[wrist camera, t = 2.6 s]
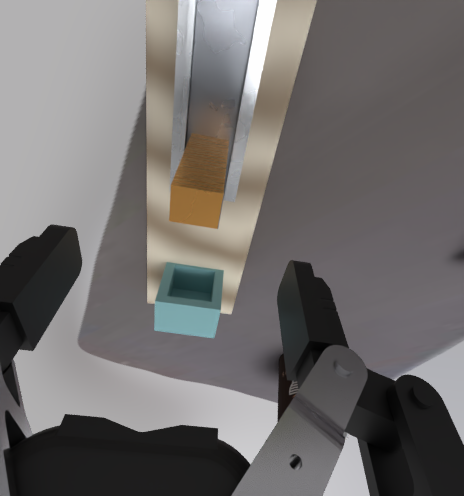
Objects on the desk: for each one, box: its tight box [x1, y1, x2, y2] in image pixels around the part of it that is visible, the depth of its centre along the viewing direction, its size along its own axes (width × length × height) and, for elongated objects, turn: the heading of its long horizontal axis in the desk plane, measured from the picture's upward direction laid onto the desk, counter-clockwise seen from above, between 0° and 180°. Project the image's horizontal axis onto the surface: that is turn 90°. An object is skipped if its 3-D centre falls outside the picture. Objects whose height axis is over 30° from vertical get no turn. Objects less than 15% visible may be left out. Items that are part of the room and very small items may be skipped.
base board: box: [146, 0, 317, 314], centre depth 25 cm, size 36×10×1 cm, turn 170°
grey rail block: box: [169, 0, 259, 229], centre depth 16 cm, size 18×3×10 cm, turn 170°
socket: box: [154, 262, 224, 338], centre depth 31 cm, size 4×6×5 cm
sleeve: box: [169, 0, 277, 202], centre depth 18 cm, size 16×5×5 cm, turn 170°
